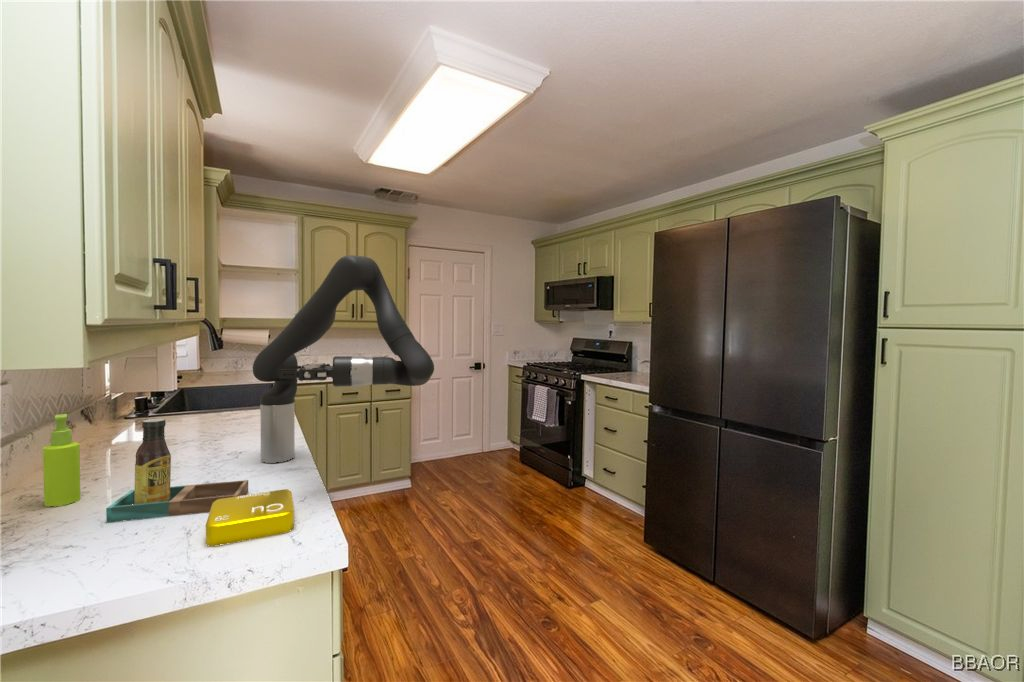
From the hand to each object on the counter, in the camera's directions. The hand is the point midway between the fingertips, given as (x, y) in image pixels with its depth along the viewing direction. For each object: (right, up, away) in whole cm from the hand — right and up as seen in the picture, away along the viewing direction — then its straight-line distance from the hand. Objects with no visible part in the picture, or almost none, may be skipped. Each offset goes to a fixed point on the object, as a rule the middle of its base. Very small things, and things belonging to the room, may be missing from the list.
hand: (281, 372), depth 108 cm
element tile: (+2, -31, -15) cm, 34 cm away
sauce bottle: (-24, -30, -8) cm, 40 cm away
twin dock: (-19, -30, -6) cm, 36 cm away
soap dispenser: (-48, -30, -5) cm, 57 cm away
